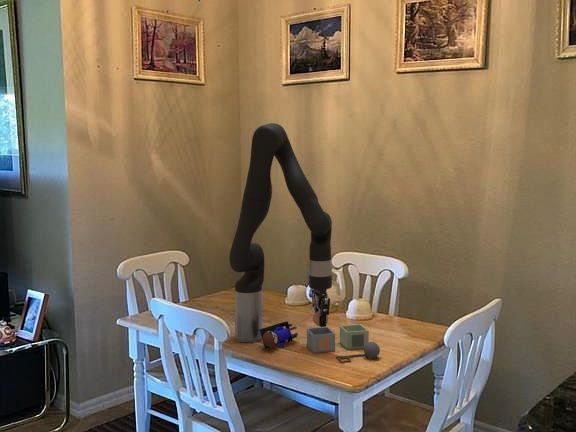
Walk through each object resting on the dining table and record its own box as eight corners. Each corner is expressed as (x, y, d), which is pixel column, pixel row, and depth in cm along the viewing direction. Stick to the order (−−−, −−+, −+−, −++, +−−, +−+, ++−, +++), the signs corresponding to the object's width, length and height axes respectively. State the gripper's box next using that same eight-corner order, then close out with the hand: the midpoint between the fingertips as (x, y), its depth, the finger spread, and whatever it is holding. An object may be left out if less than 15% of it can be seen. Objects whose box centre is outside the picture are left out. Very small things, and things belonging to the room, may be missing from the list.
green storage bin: (347, 350, 197) (347, 332, 196) (339, 343, 204) (339, 325, 204) (368, 348, 198) (368, 330, 198) (360, 341, 206) (360, 324, 205)
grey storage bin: (313, 353, 194) (312, 335, 193) (306, 345, 202) (306, 328, 201) (335, 351, 196) (335, 333, 195) (328, 344, 203) (328, 326, 203)
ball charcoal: (366, 361, 187) (367, 345, 186) (361, 355, 192) (361, 340, 191) (382, 359, 188) (382, 344, 187) (376, 354, 193) (376, 339, 192)
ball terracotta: (330, 327, 196) (330, 312, 196) (315, 328, 195) (315, 313, 194) (325, 323, 201) (325, 308, 200) (311, 324, 200) (311, 309, 199)
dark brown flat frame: (339, 363, 186) (339, 361, 186) (335, 358, 190) (335, 356, 190) (379, 359, 189) (379, 357, 188) (374, 354, 193) (374, 352, 193)
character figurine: (301, 343, 205) (269, 355, 195) (286, 337, 210) (254, 348, 200) (302, 321, 204) (270, 332, 193) (287, 315, 209) (255, 325, 198)
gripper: (338, 277, 190) (338, 329, 192) (325, 268, 204) (325, 317, 206) (315, 278, 188) (315, 331, 190) (303, 269, 202) (303, 319, 204)
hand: (320, 324), depth 198 cm, fingers closed on ball terracotta, 4 cm apart
